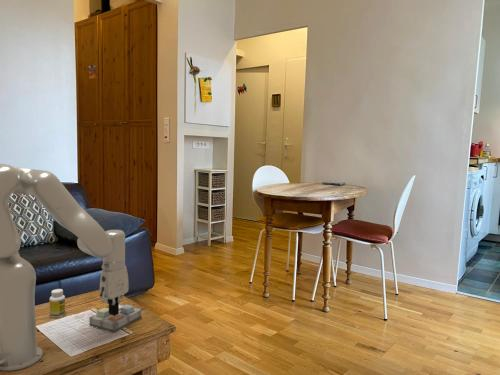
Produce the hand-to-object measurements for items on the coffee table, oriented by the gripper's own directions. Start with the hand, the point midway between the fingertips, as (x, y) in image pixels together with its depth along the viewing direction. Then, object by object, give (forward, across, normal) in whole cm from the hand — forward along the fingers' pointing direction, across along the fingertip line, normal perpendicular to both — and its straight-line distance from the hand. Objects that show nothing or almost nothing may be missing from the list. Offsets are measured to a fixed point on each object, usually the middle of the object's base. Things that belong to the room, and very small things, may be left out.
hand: (113, 314), depth 141 cm
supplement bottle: (+5, -2, +26) cm, 27 cm away
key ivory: (+3, +7, +5) cm, 9 cm away
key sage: (+2, +1, +5) cm, 6 cm away
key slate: (+2, +7, 0) cm, 7 cm away
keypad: (+5, +4, +2) cm, 7 cm away
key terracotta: (+4, +1, 0) cm, 4 cm away
